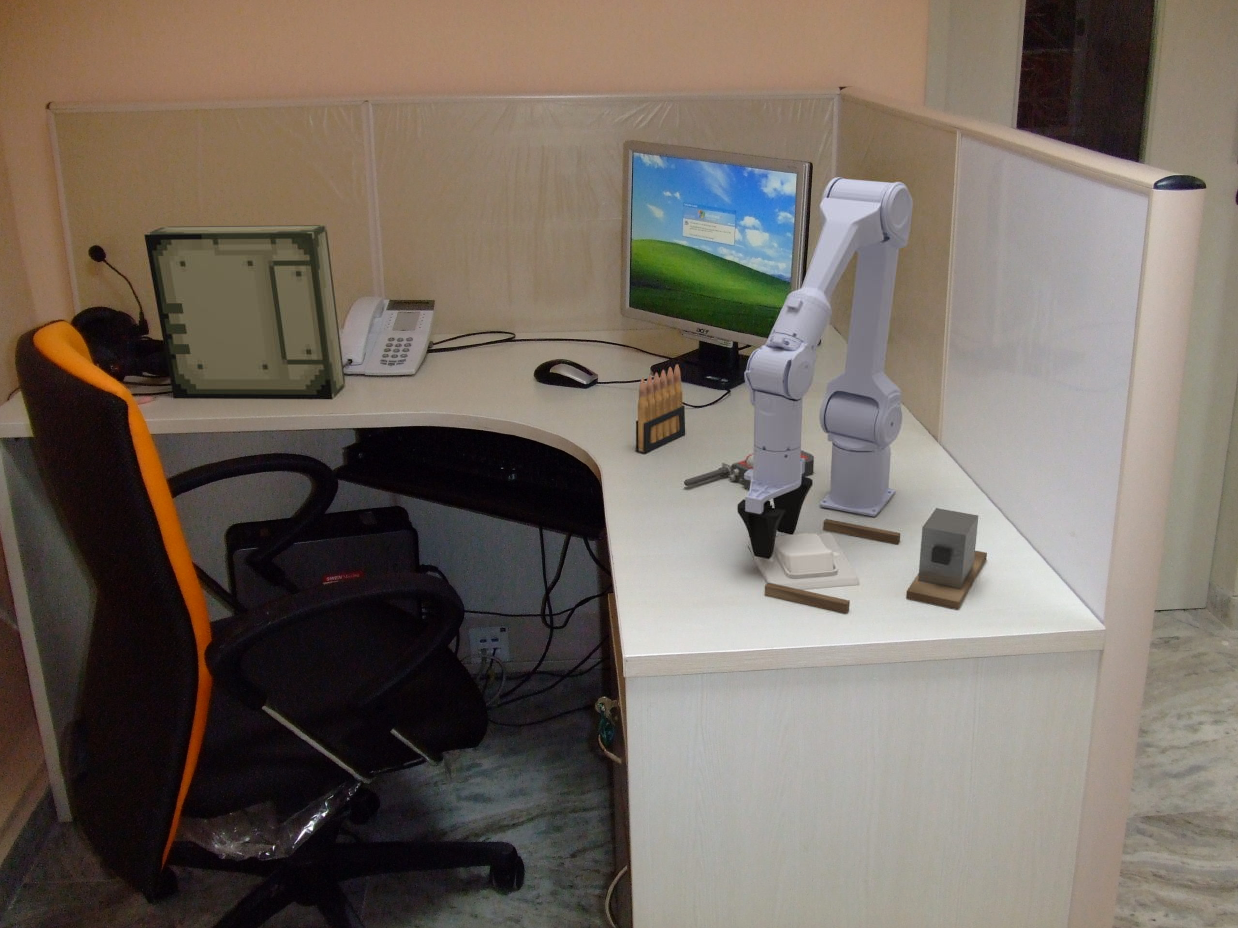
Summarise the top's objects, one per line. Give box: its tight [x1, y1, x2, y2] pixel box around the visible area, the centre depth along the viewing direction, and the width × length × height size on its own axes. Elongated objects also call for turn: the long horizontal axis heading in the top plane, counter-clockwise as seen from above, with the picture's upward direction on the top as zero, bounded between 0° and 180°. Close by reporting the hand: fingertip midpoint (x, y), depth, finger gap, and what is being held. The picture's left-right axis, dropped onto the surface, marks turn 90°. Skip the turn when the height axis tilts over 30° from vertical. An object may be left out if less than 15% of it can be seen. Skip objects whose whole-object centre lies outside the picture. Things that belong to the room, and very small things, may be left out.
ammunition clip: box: [635, 363, 686, 455], centre depth 181 cm, size 11×2×12 cm, turn 140°
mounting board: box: [905, 550, 988, 611], centre depth 138 cm, size 14×6×1 cm, turn 151°
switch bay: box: [764, 518, 901, 614], centre depth 142 cm, size 21×10×1 cm, turn 151°
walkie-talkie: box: [683, 449, 815, 490], centre depth 168 cm, size 9×4×20 cm
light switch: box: [747, 532, 860, 591], centre depth 142 cm, size 11×4×13 cm
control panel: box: [144, 224, 346, 400], centre depth 208 cm, size 30×8×30 cm, turn 85°
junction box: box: [918, 507, 979, 590], centre depth 136 cm, size 7×5×7 cm
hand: (774, 544), depth 145 cm, fingers open, 7 cm apart
